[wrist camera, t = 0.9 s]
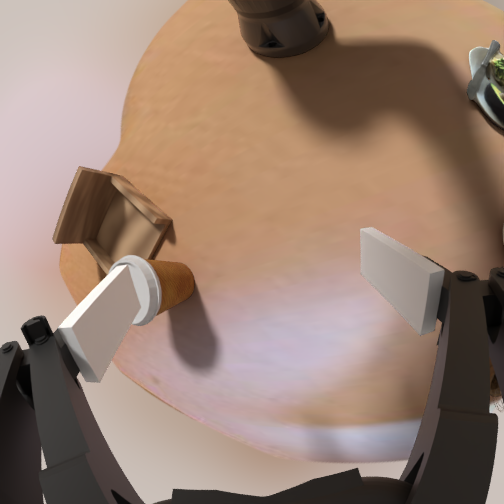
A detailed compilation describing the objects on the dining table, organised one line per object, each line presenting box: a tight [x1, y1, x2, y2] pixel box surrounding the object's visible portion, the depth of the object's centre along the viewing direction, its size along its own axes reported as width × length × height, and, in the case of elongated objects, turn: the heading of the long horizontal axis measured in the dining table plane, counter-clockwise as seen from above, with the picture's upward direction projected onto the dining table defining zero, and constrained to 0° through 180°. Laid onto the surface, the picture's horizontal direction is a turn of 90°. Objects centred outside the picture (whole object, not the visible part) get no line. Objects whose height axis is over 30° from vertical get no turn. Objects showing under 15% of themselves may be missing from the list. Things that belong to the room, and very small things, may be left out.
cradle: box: [53, 166, 172, 275], centre depth 44 cm, size 16×15×11 cm
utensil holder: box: [489, 356, 501, 407], centre depth 22 cm, size 6×6×12 cm
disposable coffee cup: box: [108, 255, 194, 326], centre depth 39 cm, size 10×10×12 cm
